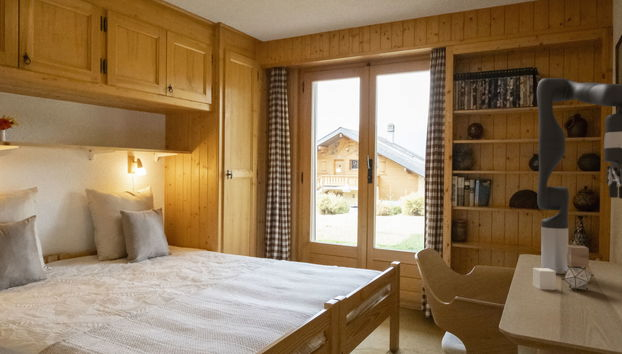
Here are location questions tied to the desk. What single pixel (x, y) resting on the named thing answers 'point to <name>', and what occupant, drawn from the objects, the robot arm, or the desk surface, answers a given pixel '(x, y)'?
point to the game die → (577, 277)
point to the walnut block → (578, 256)
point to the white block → (544, 278)
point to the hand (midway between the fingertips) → (618, 198)
